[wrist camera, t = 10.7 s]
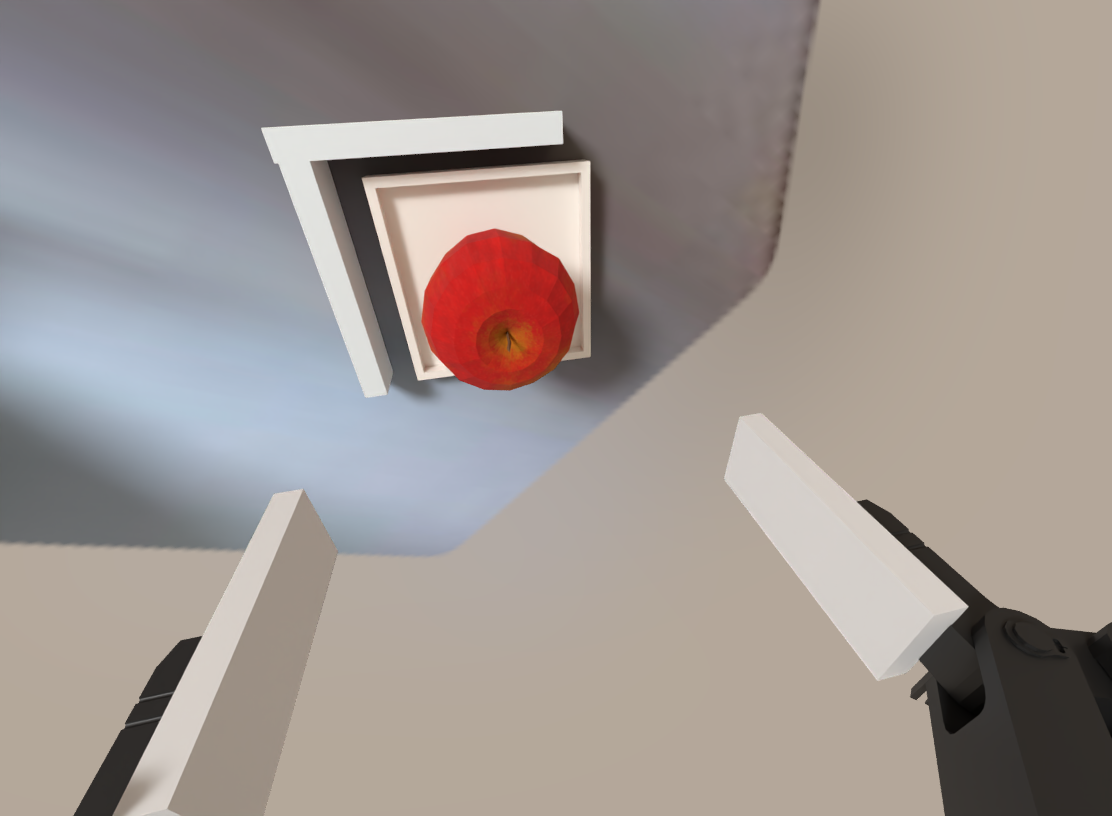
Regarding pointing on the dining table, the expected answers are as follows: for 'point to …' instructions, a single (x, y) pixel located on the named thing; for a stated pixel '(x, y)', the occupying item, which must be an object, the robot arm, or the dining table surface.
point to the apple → (499, 310)
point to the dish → (474, 206)
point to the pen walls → (324, 218)
